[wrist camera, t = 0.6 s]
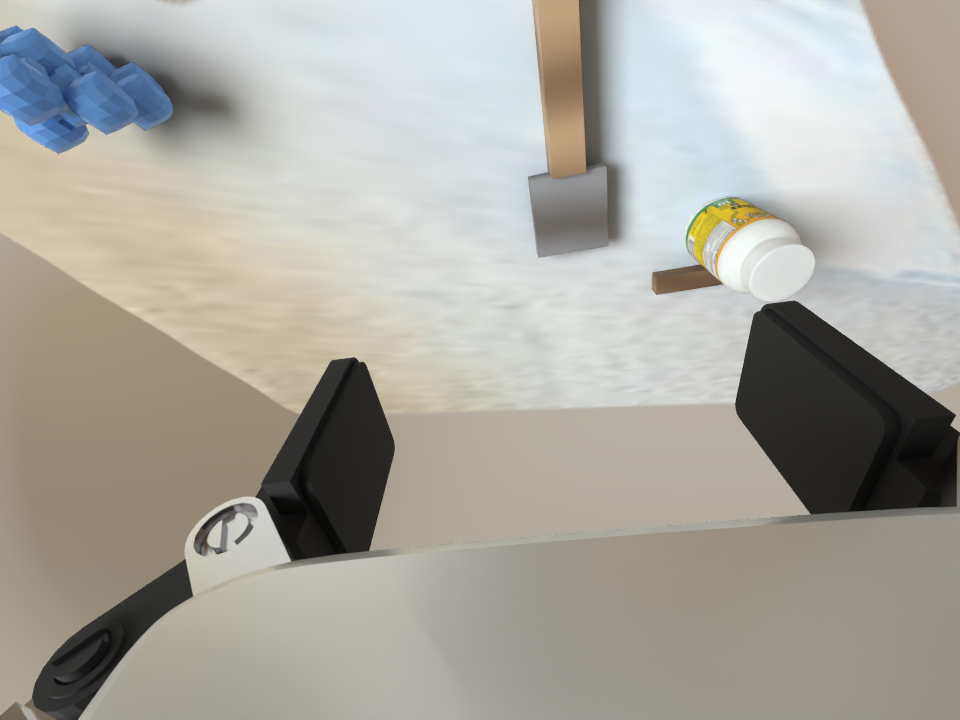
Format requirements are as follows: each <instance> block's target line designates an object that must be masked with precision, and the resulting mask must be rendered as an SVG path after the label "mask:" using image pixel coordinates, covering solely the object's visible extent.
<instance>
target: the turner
mask: <svg viewBox="0 0 960 720" xmlns="http://www.w3.org/2000/svg"><path fill="white" fill-rule="evenodd" d="M532 2H533V13H534V24H535V35H536V46H537V57H538V68H539V79H540V90H541V101H542V112H543V122H544V133H545V144H546V155H547V166H548V172H549V173H545V174H540V175H535V176H530V177H528V180H529V189H530V197H531V206H532V215H533V223H534V232H535V240H536V249H537V254H538V258H540V257H546V256H552V255H558V254H564V253H570V252H575V251H581V250H587V249H593V248H599V247H604V246H608V204H607V166H606V165H605V164H604V163H597V164H591V165H586V153H585V130H584V108H583V86H582V63H581V41H580V19H579V0H532Z"/></svg>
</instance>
